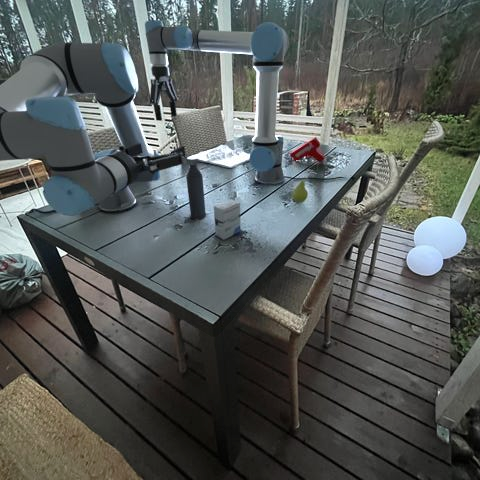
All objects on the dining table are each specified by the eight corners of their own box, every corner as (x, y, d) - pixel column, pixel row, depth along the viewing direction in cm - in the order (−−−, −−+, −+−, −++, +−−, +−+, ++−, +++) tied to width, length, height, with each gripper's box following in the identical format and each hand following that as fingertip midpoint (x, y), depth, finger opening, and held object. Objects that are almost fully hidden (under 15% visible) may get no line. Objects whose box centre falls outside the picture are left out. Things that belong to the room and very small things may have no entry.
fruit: (288, 200, 123) (290, 174, 116) (302, 197, 125) (305, 172, 119) (296, 206, 118) (299, 179, 111) (310, 203, 120) (314, 177, 114)
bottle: (207, 212, 113) (202, 156, 101) (203, 219, 108) (198, 161, 96) (193, 212, 114) (186, 156, 101) (189, 218, 109) (182, 161, 96)
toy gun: (328, 157, 168) (316, 136, 164) (328, 158, 165) (315, 137, 161) (303, 172, 178) (290, 152, 174) (302, 174, 175) (289, 154, 171)
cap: (199, 161, 101) (199, 156, 100) (197, 165, 98) (196, 159, 96) (189, 161, 101) (188, 156, 100) (186, 164, 98) (185, 159, 97)
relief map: (230, 168, 162) (230, 159, 159) (189, 158, 180) (188, 150, 177) (256, 157, 180) (256, 149, 177) (216, 149, 198) (215, 142, 195)
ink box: (232, 226, 103) (231, 197, 97) (241, 231, 100) (241, 202, 94) (214, 235, 98) (212, 205, 92) (223, 240, 95) (222, 209, 89)
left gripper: (73, 184, 65) (126, 159, 82) (167, 194, 59) (203, 165, 77) (62, 152, 61) (120, 133, 78) (161, 159, 55) (201, 137, 73)
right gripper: (167, 65, 130) (173, 114, 142) (134, 66, 110) (145, 122, 122) (181, 65, 128) (186, 114, 140) (150, 65, 108) (159, 122, 120)
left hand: (161, 149), depth 78 cm, fingers open, 13 cm apart
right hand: (167, 118), depth 131 cm, fingers open, 13 cm apart
